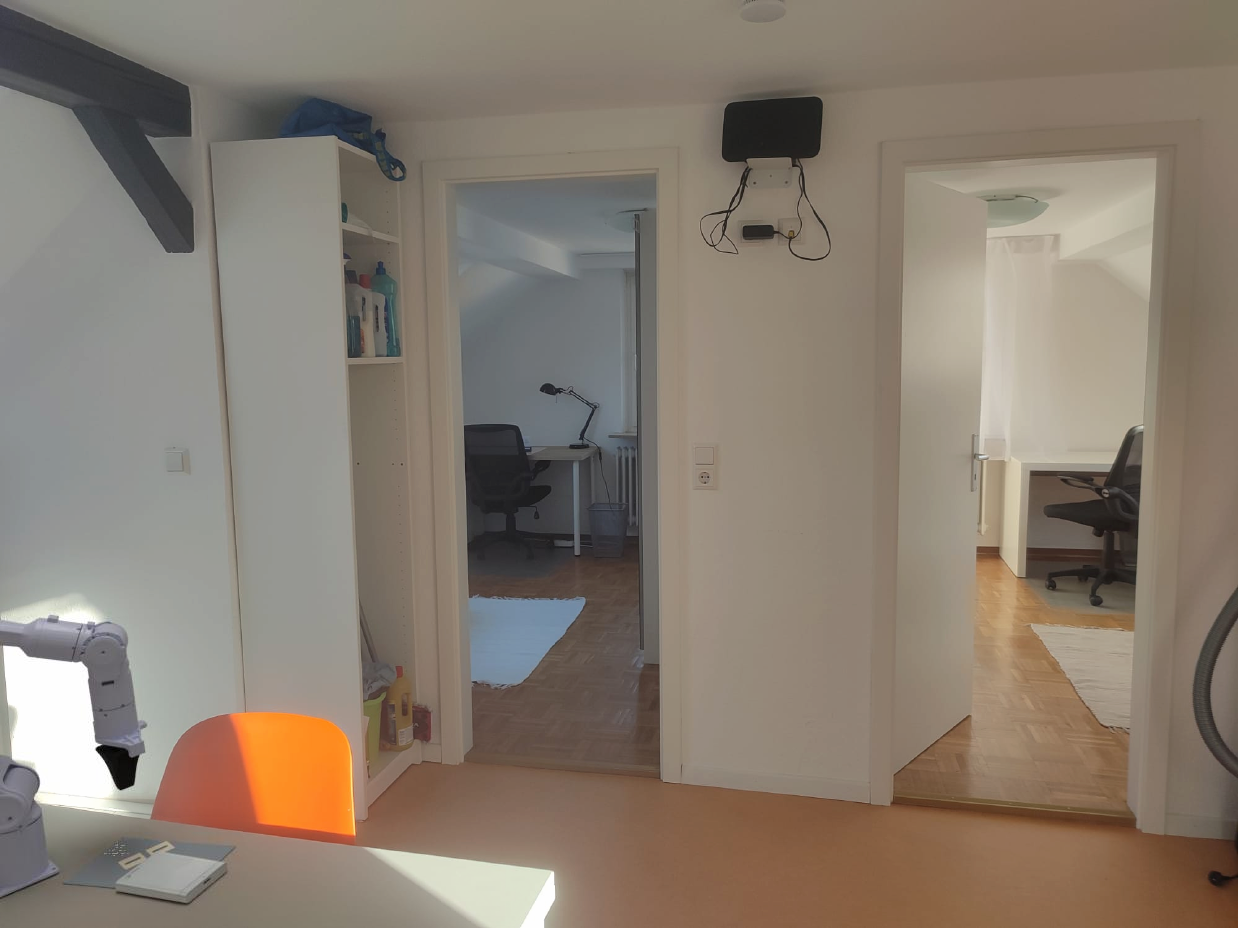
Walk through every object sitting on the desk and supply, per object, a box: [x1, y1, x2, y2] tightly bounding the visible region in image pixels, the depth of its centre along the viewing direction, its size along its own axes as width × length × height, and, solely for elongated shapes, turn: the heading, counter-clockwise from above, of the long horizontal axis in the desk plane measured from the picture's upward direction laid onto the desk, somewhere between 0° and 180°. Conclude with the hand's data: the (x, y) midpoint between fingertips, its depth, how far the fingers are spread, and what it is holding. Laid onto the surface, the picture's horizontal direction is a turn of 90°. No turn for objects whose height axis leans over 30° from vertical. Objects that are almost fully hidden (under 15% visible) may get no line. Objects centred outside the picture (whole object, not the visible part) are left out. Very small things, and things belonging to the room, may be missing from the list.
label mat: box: [62, 837, 237, 889], centre depth 133 cm, size 20×12×1 cm, turn 80°
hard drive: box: [114, 851, 228, 904], centre depth 128 cm, size 2×8×12 cm
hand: (125, 786), depth 136 cm, fingers closed
